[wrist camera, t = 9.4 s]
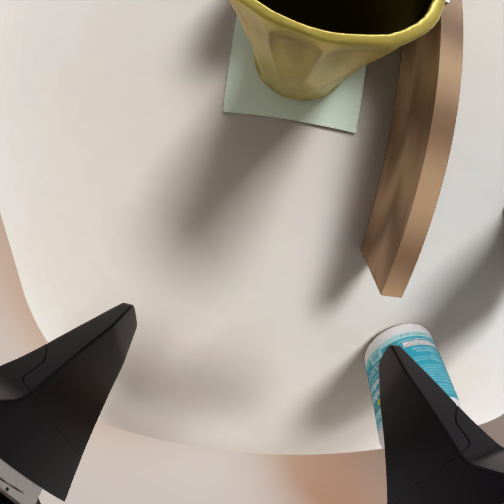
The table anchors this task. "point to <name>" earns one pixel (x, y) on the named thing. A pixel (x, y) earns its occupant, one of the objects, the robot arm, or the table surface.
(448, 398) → the robot arm
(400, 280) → the back rail
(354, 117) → the mat
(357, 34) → the vase
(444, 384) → the pill bottle
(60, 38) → the table surface
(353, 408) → the table surface
